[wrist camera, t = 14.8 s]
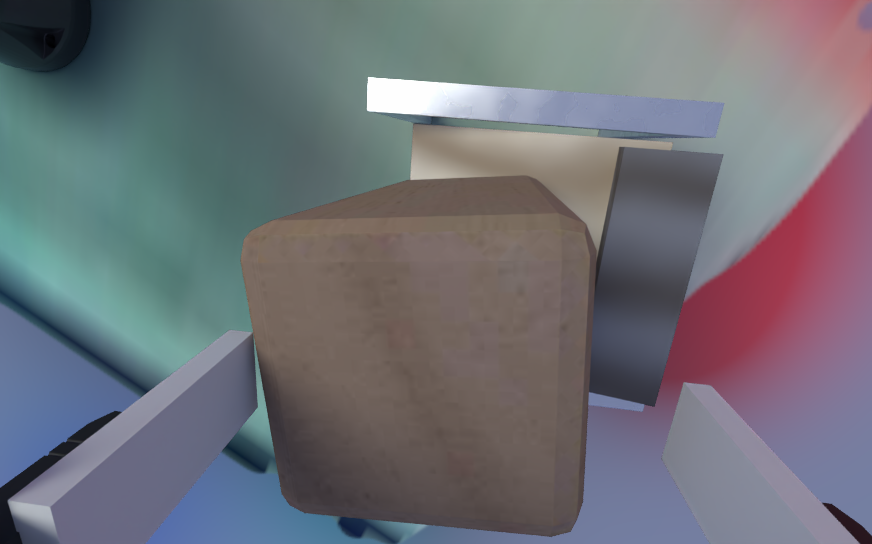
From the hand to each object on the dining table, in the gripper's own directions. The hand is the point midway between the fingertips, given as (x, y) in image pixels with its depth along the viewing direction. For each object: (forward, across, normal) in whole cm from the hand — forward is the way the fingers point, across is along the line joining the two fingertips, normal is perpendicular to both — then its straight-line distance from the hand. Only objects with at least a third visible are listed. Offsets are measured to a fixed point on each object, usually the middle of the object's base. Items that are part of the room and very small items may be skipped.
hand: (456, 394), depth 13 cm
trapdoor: (+20, +5, 0) cm, 20 cm away
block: (+19, 0, 0) cm, 19 cm away
